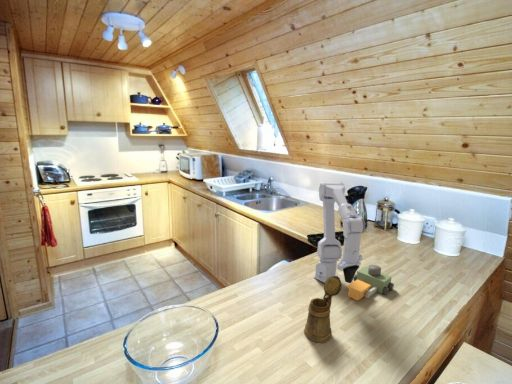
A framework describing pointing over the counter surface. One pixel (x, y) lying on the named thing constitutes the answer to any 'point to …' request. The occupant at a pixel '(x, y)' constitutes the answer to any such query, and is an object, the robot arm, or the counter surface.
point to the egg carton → (317, 237)
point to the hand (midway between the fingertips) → (348, 281)
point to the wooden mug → (322, 312)
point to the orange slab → (358, 289)
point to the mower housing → (374, 280)
